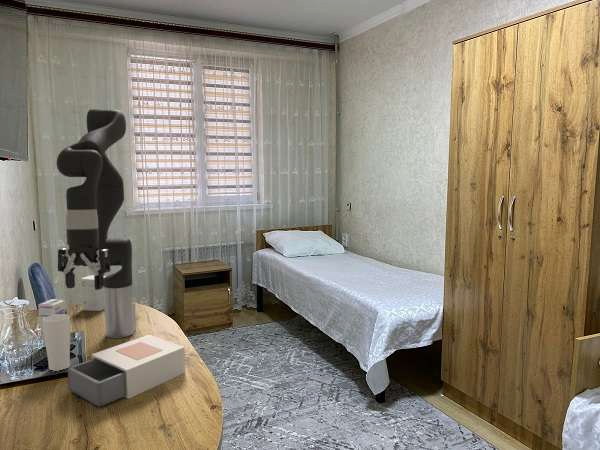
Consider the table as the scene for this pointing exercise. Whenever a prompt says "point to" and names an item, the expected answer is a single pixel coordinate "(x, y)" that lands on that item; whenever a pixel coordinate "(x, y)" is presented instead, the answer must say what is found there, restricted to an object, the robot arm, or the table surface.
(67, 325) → the white cup
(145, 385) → the mailer sleeve
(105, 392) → the tray
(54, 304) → the syrup box
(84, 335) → the table surface
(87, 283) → the small box
